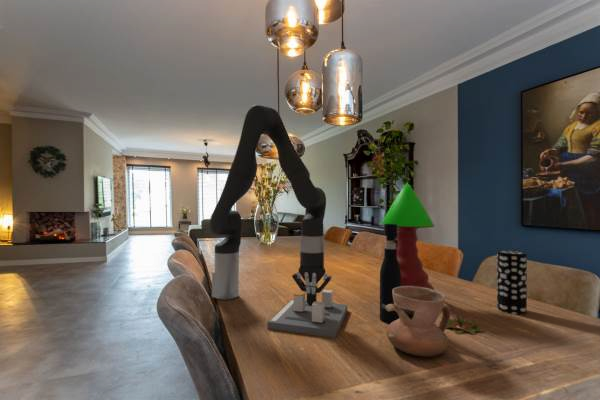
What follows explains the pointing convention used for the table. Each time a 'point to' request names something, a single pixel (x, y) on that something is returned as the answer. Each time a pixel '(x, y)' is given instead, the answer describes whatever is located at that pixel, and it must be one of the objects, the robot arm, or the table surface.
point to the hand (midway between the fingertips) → (311, 304)
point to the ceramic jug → (418, 321)
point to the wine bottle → (389, 275)
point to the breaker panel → (309, 320)
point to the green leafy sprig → (461, 322)
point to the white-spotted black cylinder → (512, 282)
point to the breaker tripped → (299, 301)
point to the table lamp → (409, 236)
